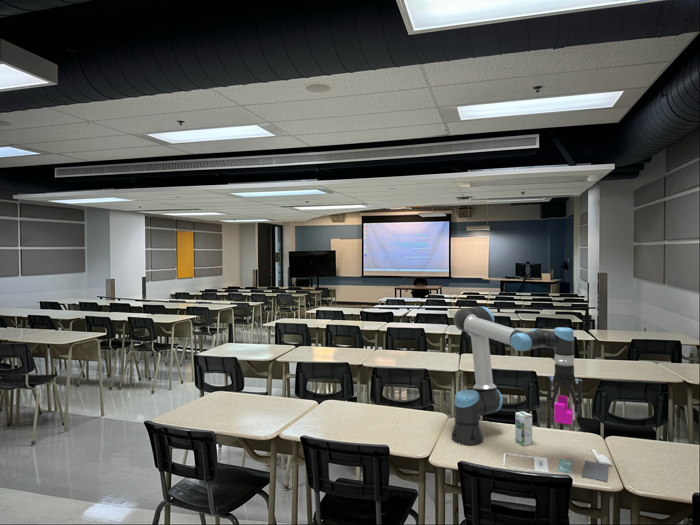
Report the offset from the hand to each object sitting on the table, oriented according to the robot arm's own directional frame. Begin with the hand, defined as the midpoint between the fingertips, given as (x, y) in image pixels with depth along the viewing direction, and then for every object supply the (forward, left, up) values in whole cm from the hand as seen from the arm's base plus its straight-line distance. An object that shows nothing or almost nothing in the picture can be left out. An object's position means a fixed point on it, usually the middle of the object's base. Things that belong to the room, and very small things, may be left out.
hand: (564, 417), depth 198 cm
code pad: (0, 0, -21) cm, 21 cm away
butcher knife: (+13, +16, -21) cm, 29 cm away
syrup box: (-20, +17, -21) cm, 34 cm away
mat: (+12, +1, -21) cm, 24 cm away
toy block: (0, 0, 0) cm, 0 cm away
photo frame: (-15, -6, -22) cm, 27 cm away
